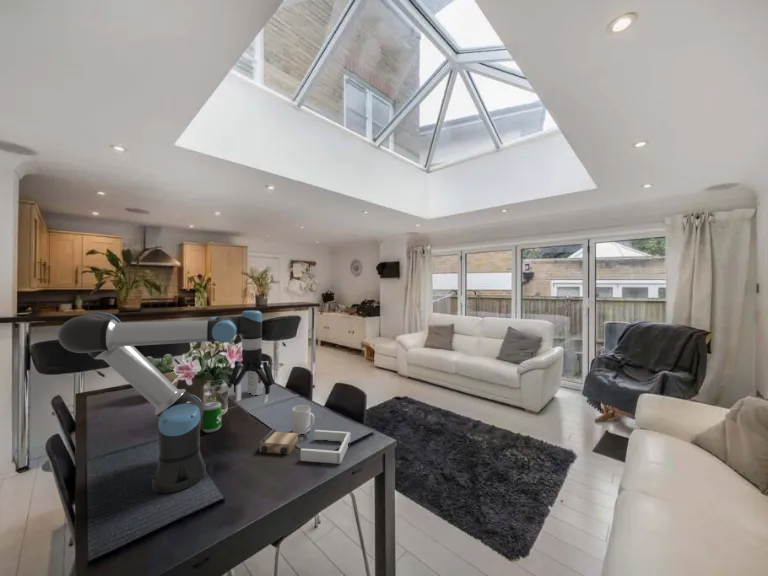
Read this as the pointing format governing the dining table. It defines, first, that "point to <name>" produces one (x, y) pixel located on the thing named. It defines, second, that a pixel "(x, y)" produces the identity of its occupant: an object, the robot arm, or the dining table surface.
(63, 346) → the robot arm
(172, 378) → the potted plant
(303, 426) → the mug
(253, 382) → the supplement box
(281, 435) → the trolley
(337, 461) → the bay
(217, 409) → the soda can
